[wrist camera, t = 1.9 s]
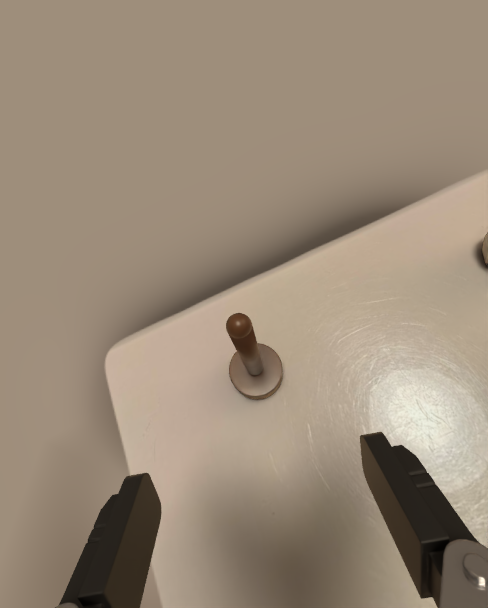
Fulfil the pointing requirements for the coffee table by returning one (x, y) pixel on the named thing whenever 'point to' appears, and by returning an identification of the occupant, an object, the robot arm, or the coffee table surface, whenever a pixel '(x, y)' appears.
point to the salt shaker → (485, 249)
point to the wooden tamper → (252, 361)
